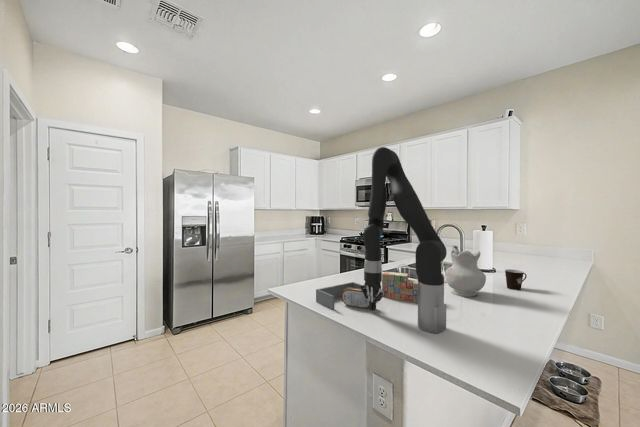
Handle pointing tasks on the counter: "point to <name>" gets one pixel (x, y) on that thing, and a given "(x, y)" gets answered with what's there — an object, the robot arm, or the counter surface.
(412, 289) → the stack of blocks
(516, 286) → the coffee mug
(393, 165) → the robot arm
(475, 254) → the ceramic pitcher
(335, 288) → the box
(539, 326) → the counter surface
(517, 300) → the counter surface
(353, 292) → the digital alarm clock
